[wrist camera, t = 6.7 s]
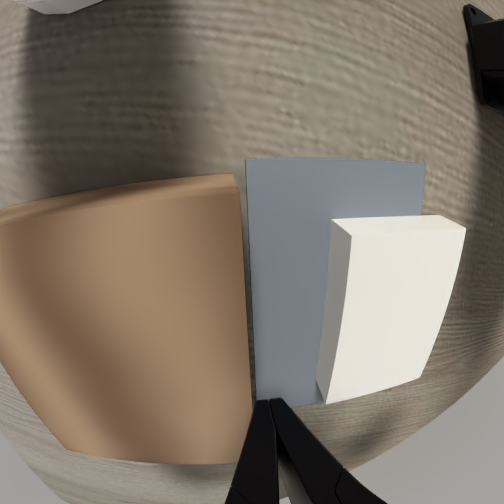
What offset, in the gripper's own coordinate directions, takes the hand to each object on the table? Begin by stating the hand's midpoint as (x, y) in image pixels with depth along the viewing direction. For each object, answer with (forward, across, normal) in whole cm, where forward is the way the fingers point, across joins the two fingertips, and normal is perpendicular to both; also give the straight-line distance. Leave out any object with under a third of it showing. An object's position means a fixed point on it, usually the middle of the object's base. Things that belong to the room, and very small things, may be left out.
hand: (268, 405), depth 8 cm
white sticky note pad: (+3, -6, 0) cm, 7 cm away
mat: (+5, -4, 0) cm, 6 cm away
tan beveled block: (+5, +6, 0) cm, 8 cm away
